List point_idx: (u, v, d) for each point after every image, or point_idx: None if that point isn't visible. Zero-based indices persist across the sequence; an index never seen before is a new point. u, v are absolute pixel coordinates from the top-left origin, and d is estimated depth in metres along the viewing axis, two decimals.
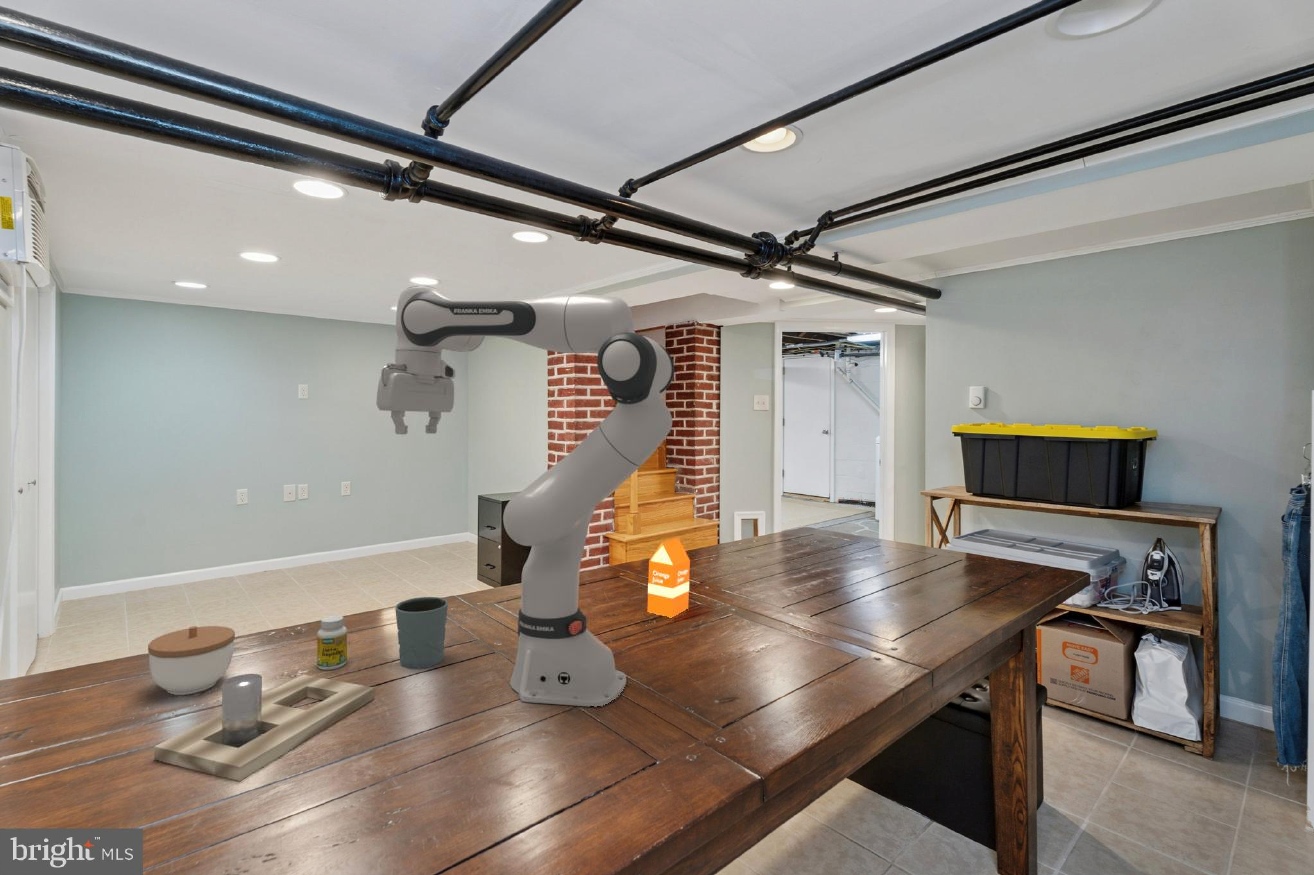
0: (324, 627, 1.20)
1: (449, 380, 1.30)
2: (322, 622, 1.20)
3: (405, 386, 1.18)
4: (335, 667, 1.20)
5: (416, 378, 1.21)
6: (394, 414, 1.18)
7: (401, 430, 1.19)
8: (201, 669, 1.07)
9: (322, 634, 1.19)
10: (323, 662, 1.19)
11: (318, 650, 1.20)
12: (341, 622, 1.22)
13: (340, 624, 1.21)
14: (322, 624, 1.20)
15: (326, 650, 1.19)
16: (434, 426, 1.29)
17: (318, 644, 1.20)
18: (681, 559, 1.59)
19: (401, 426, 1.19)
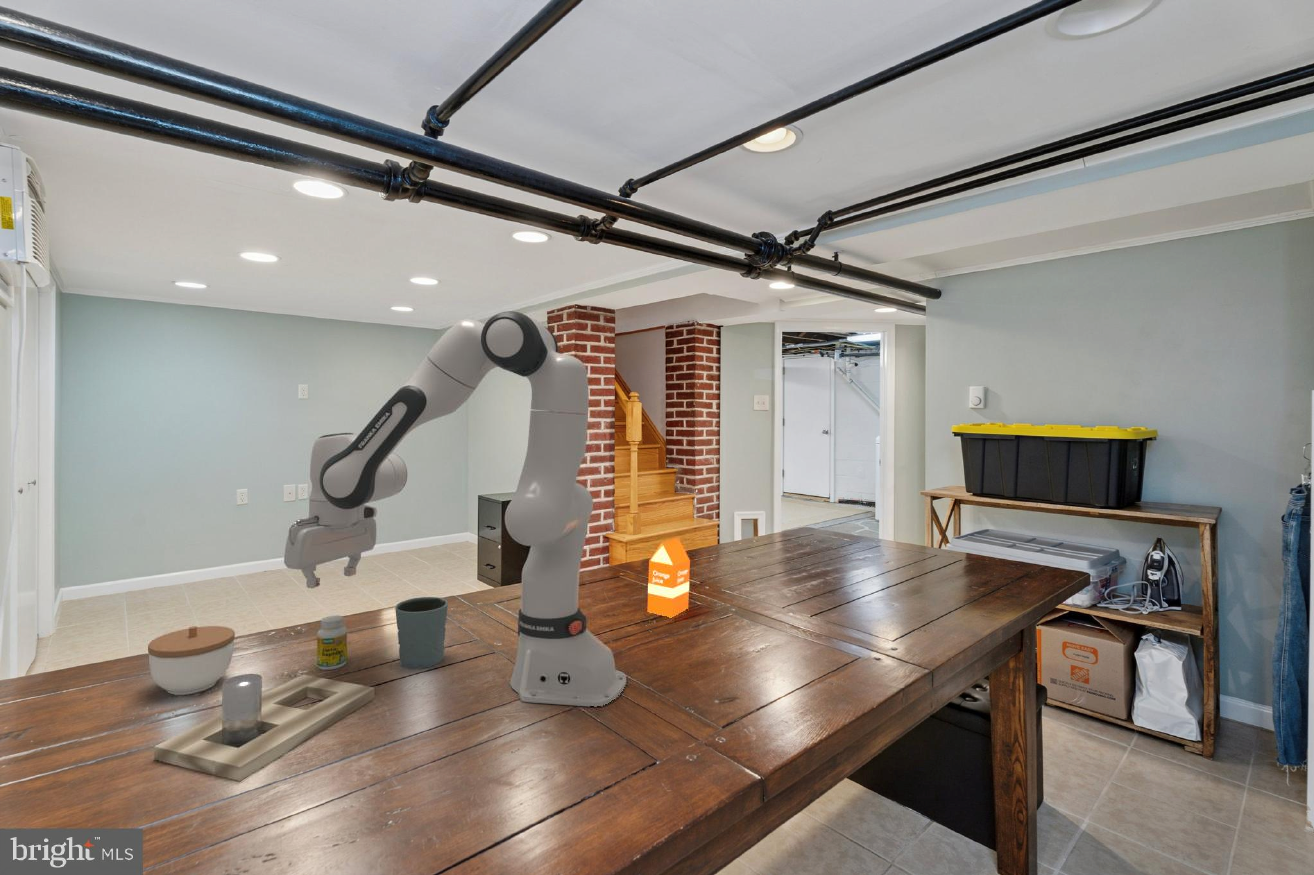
0: (324, 627, 1.20)
1: (369, 520, 1.27)
2: (322, 622, 1.20)
3: (316, 541, 1.15)
4: (335, 667, 1.20)
5: (329, 528, 1.18)
6: (304, 569, 1.15)
7: (312, 584, 1.16)
8: (201, 669, 1.07)
9: (322, 634, 1.19)
10: (323, 662, 1.19)
11: (318, 650, 1.20)
12: (341, 622, 1.22)
13: (340, 624, 1.21)
14: (322, 624, 1.20)
15: (326, 650, 1.19)
16: (353, 568, 1.26)
17: (318, 644, 1.20)
18: (681, 559, 1.59)
19: (312, 580, 1.16)
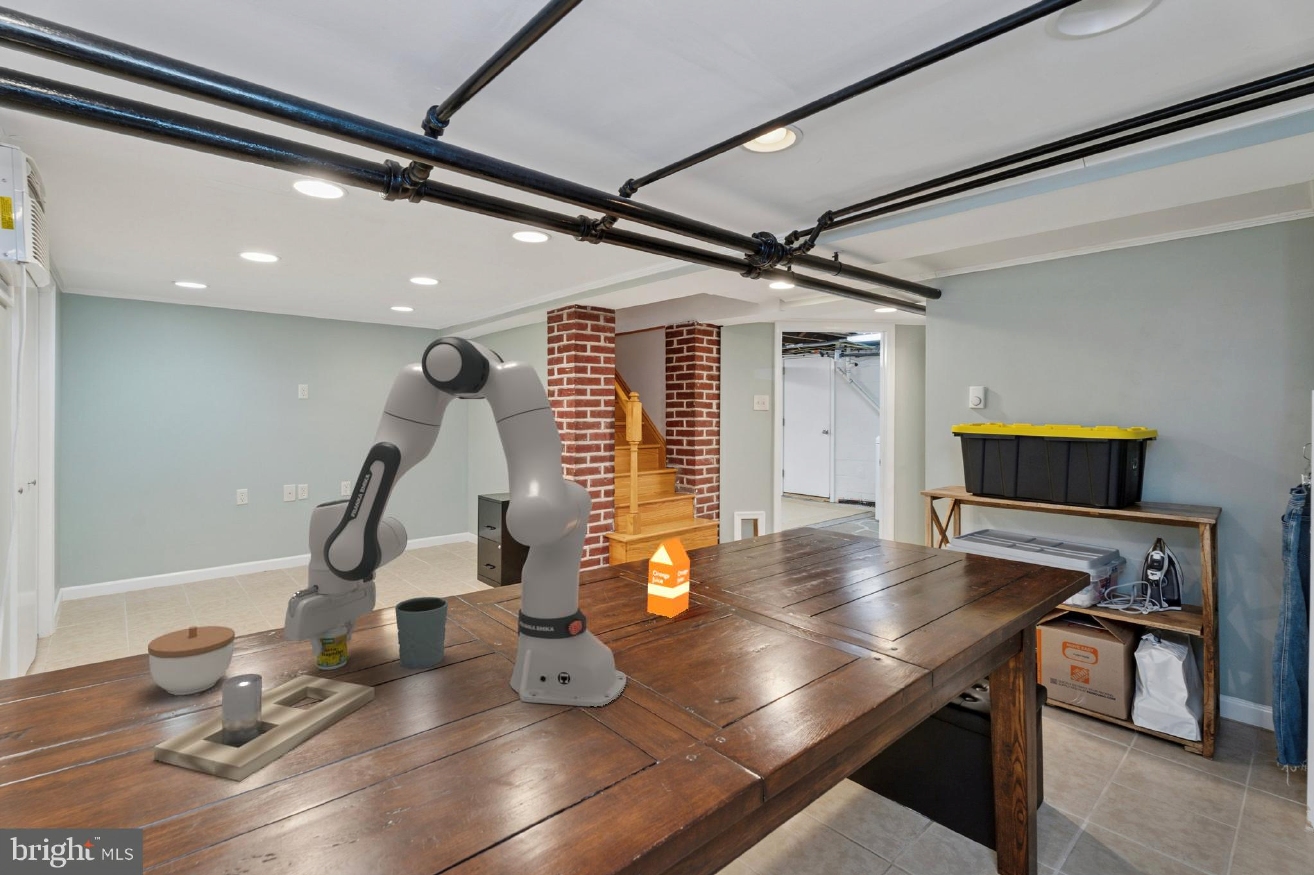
0: None
1: (369, 583, 1.28)
2: None
3: (315, 610, 1.16)
4: (335, 667, 1.20)
5: (329, 597, 1.18)
6: (310, 636, 1.17)
7: (318, 651, 1.18)
8: (201, 669, 1.07)
9: (322, 634, 1.19)
10: (323, 662, 1.19)
11: None
12: (341, 622, 1.22)
13: (340, 624, 1.21)
14: None
15: (326, 650, 1.19)
16: (348, 634, 1.25)
17: None
18: (681, 559, 1.59)
19: (318, 647, 1.18)
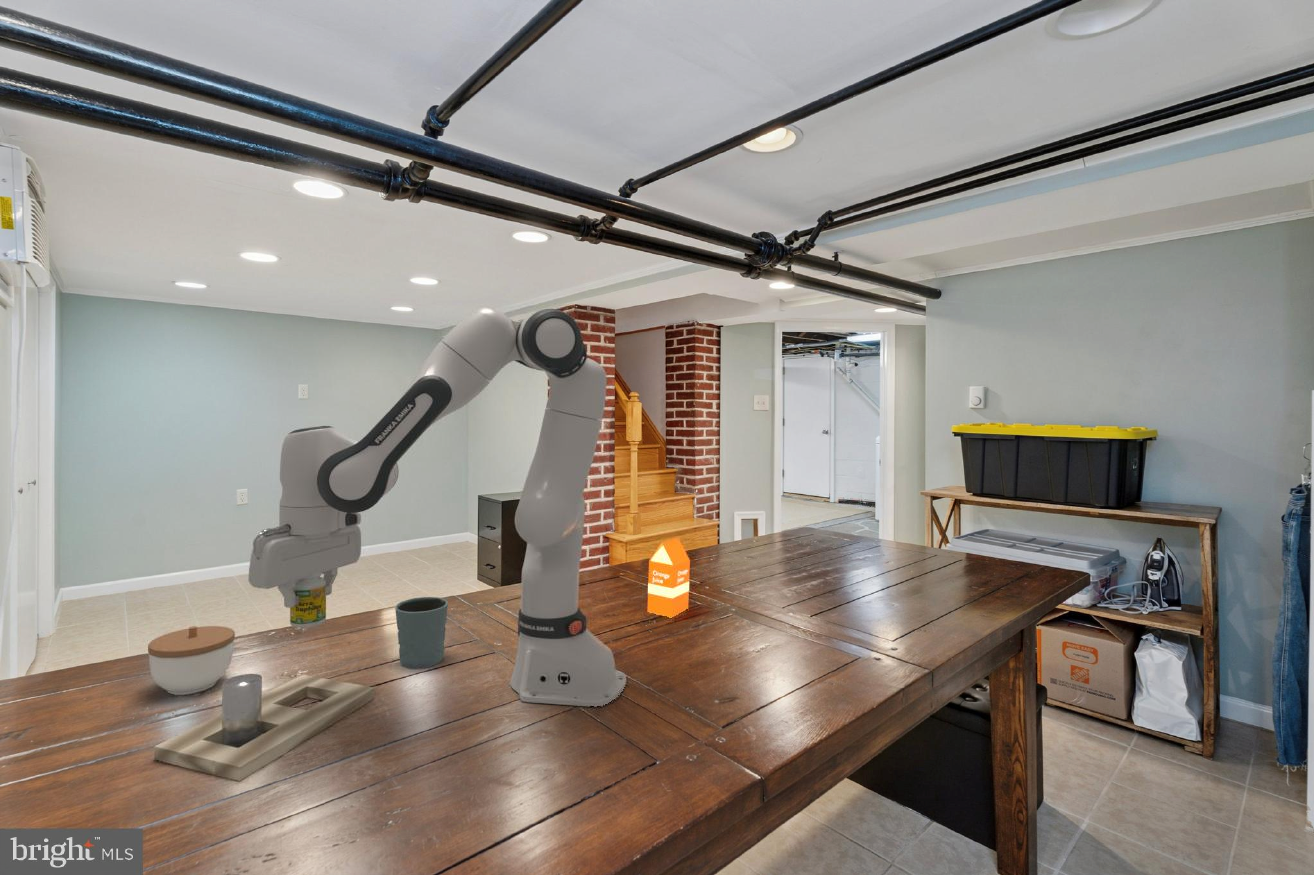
0: None
1: (353, 527, 1.09)
2: None
3: (287, 554, 0.97)
4: (311, 625, 1.02)
5: (304, 539, 1.00)
6: (281, 585, 0.98)
7: (291, 603, 0.99)
8: (201, 669, 1.07)
9: (295, 585, 1.01)
10: (297, 618, 1.01)
11: None
12: (319, 572, 1.03)
13: (317, 574, 1.03)
14: None
15: (300, 605, 1.01)
16: (328, 587, 1.06)
17: None
18: (681, 559, 1.59)
19: (291, 598, 0.99)
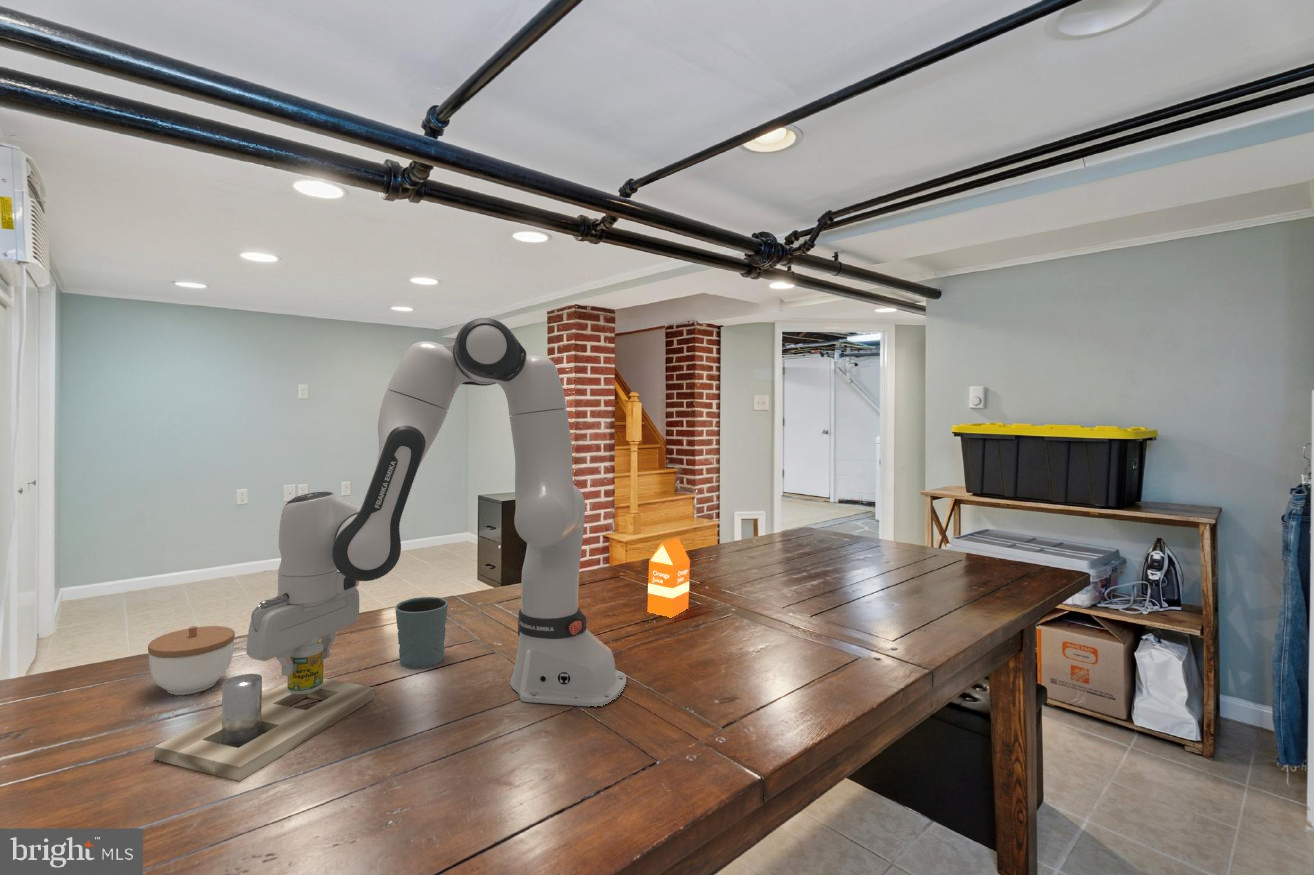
0: None
1: (351, 590, 1.09)
2: None
3: (285, 624, 0.98)
4: (309, 691, 1.02)
5: (302, 607, 1.00)
6: (279, 654, 0.99)
7: (288, 671, 1.00)
8: (201, 669, 1.07)
9: (293, 652, 1.01)
10: (295, 685, 1.01)
11: None
12: (316, 638, 1.03)
13: (315, 640, 1.03)
14: None
15: (297, 672, 1.01)
16: (326, 650, 1.07)
17: None
18: (681, 559, 1.59)
19: (288, 666, 1.00)
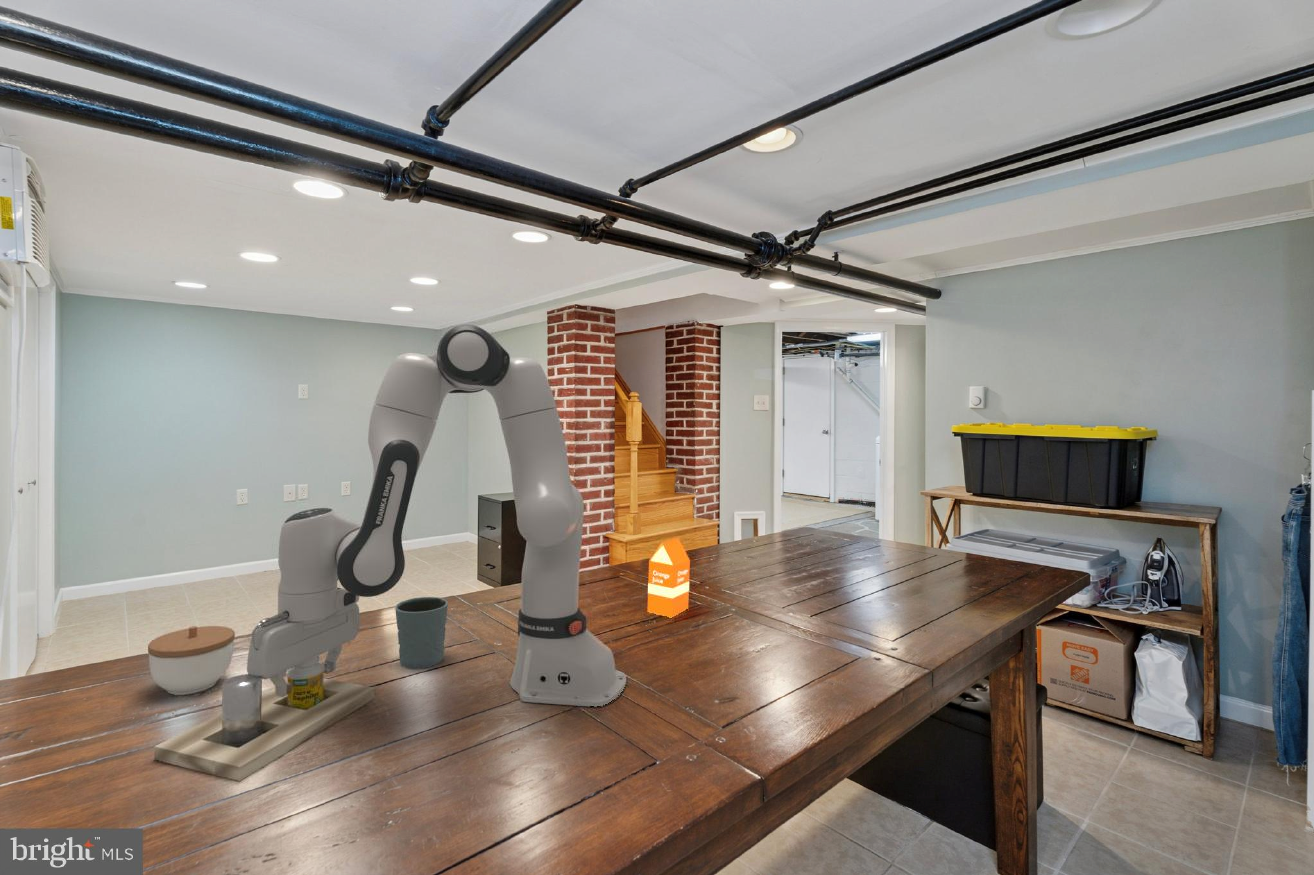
0: (296, 666, 1.02)
1: (351, 606, 1.09)
2: None
3: (285, 641, 0.98)
4: None
5: (302, 624, 1.00)
6: (272, 675, 0.97)
7: (282, 692, 0.98)
8: (201, 669, 1.07)
9: (293, 674, 1.01)
10: (295, 707, 1.01)
11: None
12: (316, 659, 1.03)
13: (314, 662, 1.03)
14: None
15: (297, 694, 1.01)
16: (332, 664, 1.08)
17: None
18: (681, 559, 1.59)
19: (282, 687, 0.98)
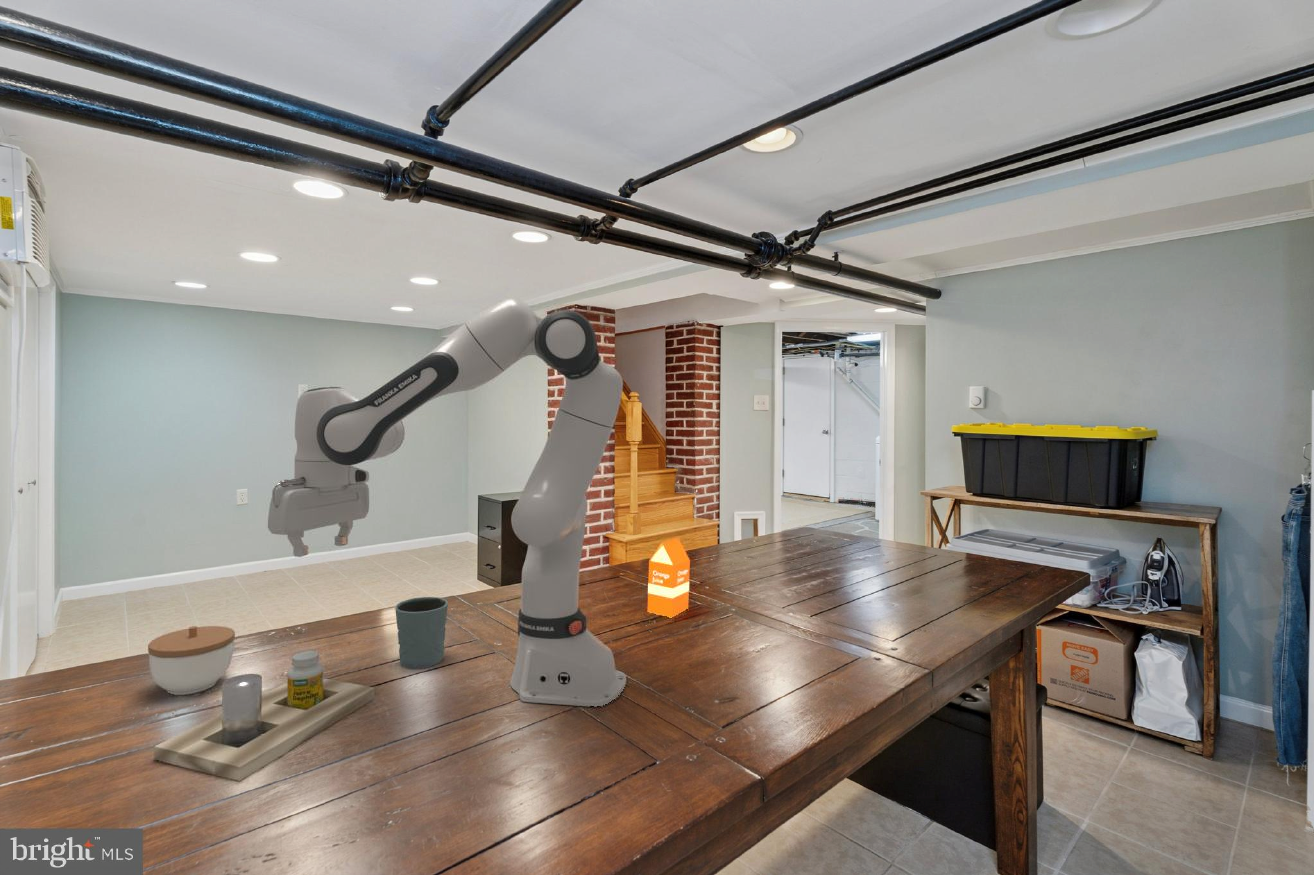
0: (295, 666, 1.02)
1: (361, 484, 1.17)
2: (293, 660, 1.02)
3: (303, 504, 1.05)
4: None
5: (318, 491, 1.07)
6: (291, 535, 1.04)
7: (300, 552, 1.05)
8: (201, 669, 1.07)
9: (292, 674, 1.01)
10: (295, 707, 1.01)
11: (288, 693, 1.02)
12: (316, 659, 1.03)
13: (314, 662, 1.03)
14: (293, 662, 1.02)
15: (297, 694, 1.01)
16: (344, 537, 1.15)
17: (288, 687, 1.02)
18: (681, 559, 1.59)
19: (300, 548, 1.05)
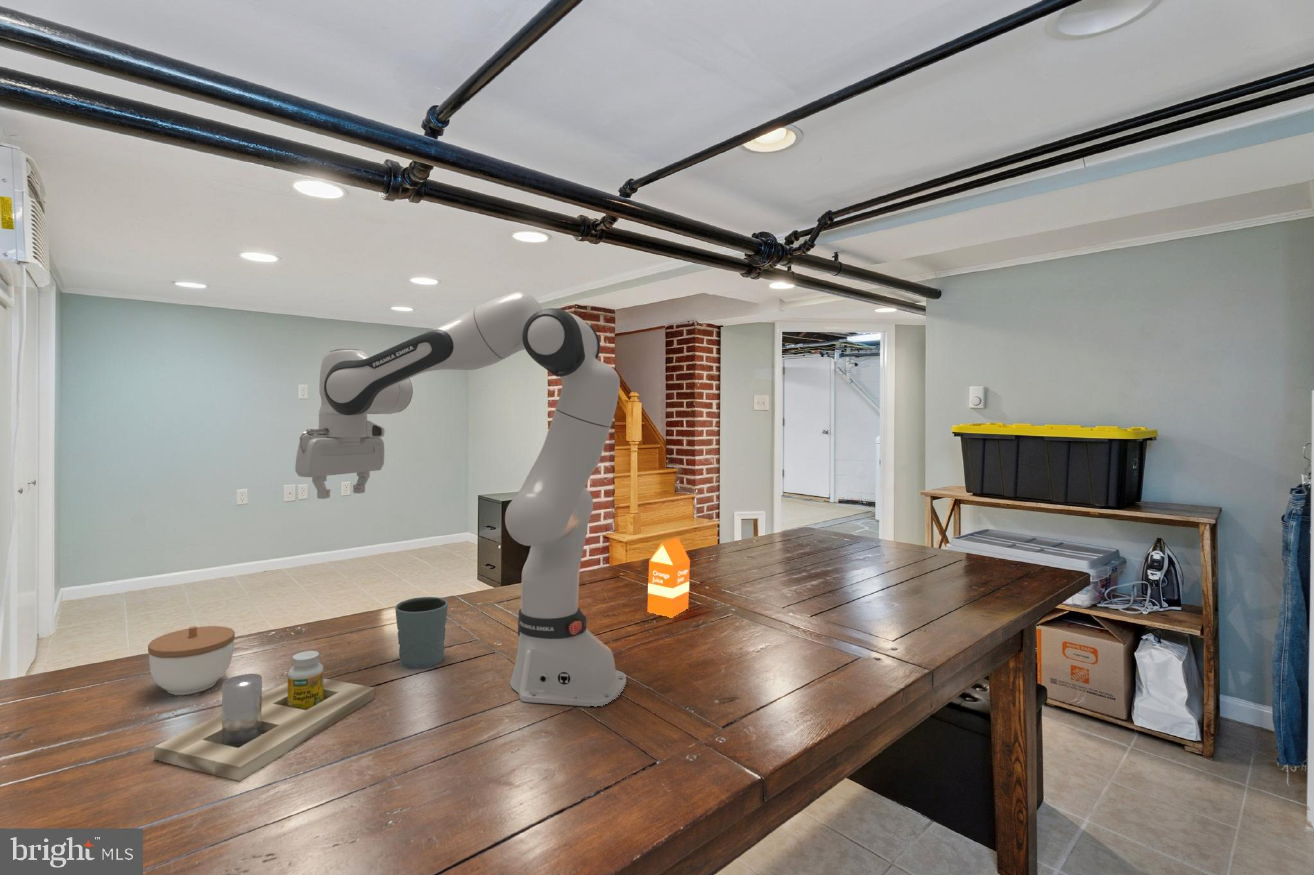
0: (296, 666, 1.02)
1: (378, 439, 1.30)
2: (293, 660, 1.02)
3: (326, 451, 1.18)
4: None
5: (339, 441, 1.20)
6: (315, 479, 1.18)
7: (323, 494, 1.19)
8: (201, 669, 1.07)
9: (293, 674, 1.01)
10: (295, 707, 1.01)
11: (289, 693, 1.02)
12: (316, 659, 1.03)
13: (315, 662, 1.03)
14: (293, 662, 1.02)
15: (297, 694, 1.01)
16: (362, 486, 1.28)
17: (288, 686, 1.02)
18: (681, 559, 1.59)
19: (323, 490, 1.19)
